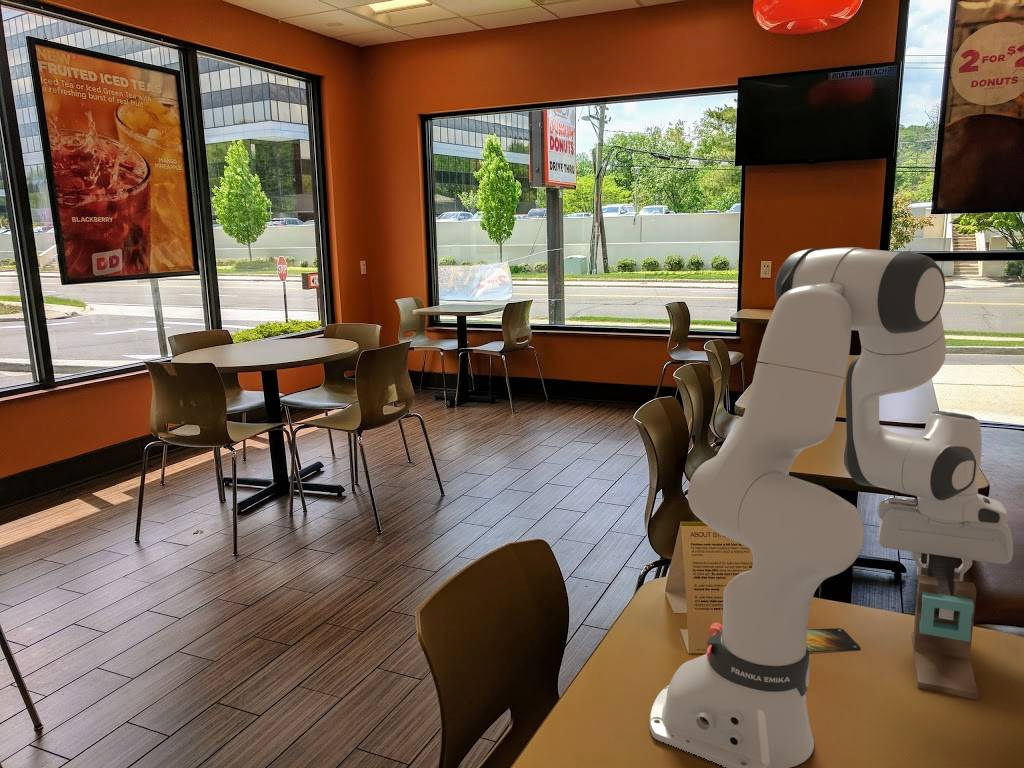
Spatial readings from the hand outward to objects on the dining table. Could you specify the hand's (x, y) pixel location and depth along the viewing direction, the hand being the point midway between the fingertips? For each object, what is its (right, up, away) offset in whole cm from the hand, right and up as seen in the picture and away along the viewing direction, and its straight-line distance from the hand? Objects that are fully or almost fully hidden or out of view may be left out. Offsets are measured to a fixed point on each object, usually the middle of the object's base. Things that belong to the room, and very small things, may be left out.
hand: (939, 577), depth 129 cm
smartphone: (-23, -11, -1) cm, 26 cm away
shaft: (-2, -4, -4) cm, 6 cm away
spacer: (-5, -7, -10) cm, 13 cm away
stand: (-5, -12, -10) cm, 16 cm away
